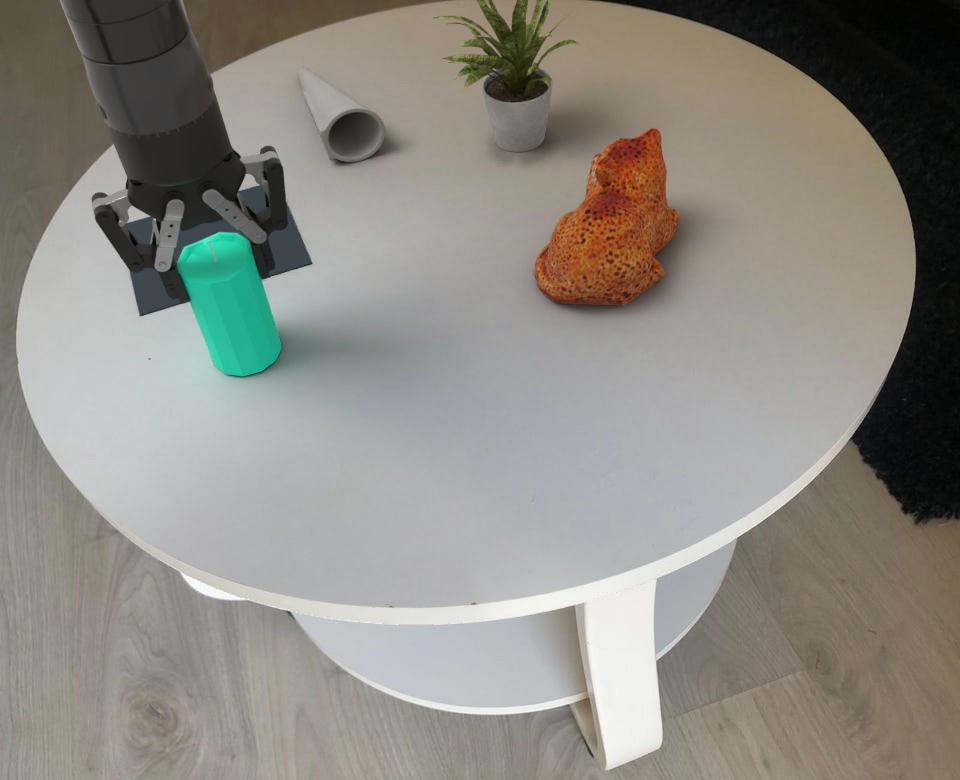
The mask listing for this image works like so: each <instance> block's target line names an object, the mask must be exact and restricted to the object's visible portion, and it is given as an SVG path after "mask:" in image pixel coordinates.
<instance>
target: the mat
mask: <svg viewBox="0 0 960 780" xmlns="http://www.w3.org/2000/svg"><path fill="white" fill-rule="evenodd" d="M238 193H239V194H240V195H241V196H242V198H243V199H244V201H245V202H246V203H247V204H248V205H249V206H250V207H251V208H252V209H253V210H254V211H255V212H256V213H258V212H260V211H261V210H263V209H264V208H265V199H264V189H263V185H259V184H258V185H256V186H251V187H248V188H245V189H241V190H239V191H238ZM286 206H287V218H288V225H287V227H286V228H285V229H284V230H280V231H278V230H275V231H273V232H272V233H271V234H270V235H269V237H268V241H269V245H270V248H271V251H272V255H273V258H274V261H275V268H274V270H271V271H268V272H269V275H270V277H272V276H276V275H279V274H283V273H286V272H289V271H292V270H296V269H299V268H303V267H305V266H308V265H311V264H313V263H312V260H311V258H310V255H309V253H308V251H307V248H306V246H305V244H304V241H303V238H302V237H301V234H300V232H299V228H298V227H297V225H296V222H295V220H294V217H293V215H292V213H291V210H290V208H289V206H288V203H287V202H286ZM222 218H223V217H222ZM126 224H127V226H128V227H129V229H130V230H131V232H132V233H133V235H134V236H135V238H136V239H137V241H138V242H139V244H150V242H151V236H152V230H153V217H151V216H147V217H144V218H140V219H137V220H133V221H130V222H129V221H128V222H127V223H126ZM218 232H228V233H238V234H240V235H241V236H243V237H244V238H245V239H247V240H248V237H247V236H246V235H245V234H244V233H243V232H242V231H241V230H237V229H236V228H234V227H233V226H232V225H231V224H230V223H229V222H228V221H227V220H226V219H225V218H223V220H220V221H217V222H213V223H202V224H199V225H198V226H196V227H194V228H192V229H189V230H185V231H181V229H179V235H178V240H177V246H176V248H174V252H173V255H174V258H175V260H176V263H177V261H178V259H179V257H180V255H181V253H182V251H183V248H184V247H186V246H188V245H191V244H193V243H195V242H198V241H200V240H203V239H205V238H207V237H209V236H212V235H214V234H216V233H218ZM248 241H249V240H248ZM128 270H129V269H128ZM129 274H130V280H131V284H132V288H133V292H134V297H135V301H136V305H137V310H138V315H139V317H141V316H144V315H148V314H151V313H154V312H157V311H161V310H164V309H167V308H171V307H174V306H177V305H180V304H181V303H180V300H179V298H178V299H174V300H172V299H171V298H170V297H169V296H168V294H167V292H166V290H165V287H164V285H163V282H162V280H161V278H160V275H159V273H158V272H157V271H156V270H155V269H152V268H144V269H143V270H142V271H141V272H137V273H135V272H131V271H130V270H129ZM181 305H182V304H181Z"/></svg>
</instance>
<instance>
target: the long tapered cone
mask: <svg viewBox="0 0 960 780" xmlns="http://www.w3.org/2000/svg"><path fill="white" fill-rule="evenodd" d="M295 72H296V73H295V74H296V78H297V80H298V82H299V84H300V87H301V90H302V93H303V96H304V100H305V103H306V104H307V107H308V109H309V112H310V114H311V116H312V119H313V122H314V124H315V126H316V129H317V131H318V134H319V137H320V139H321V142H322V144H323V146H324V148H325V151H326V154H327V156H328V158H329V160H330V161H333V160H338V161H341V162H344V163H345V162H346V163H356V162H361V161H364V160H366V159H368V158H370V157H372V156H373V155H374V154H375V153H377V151H378V150H379V149H380V148H381V146H382V145H383V143H384V140H385V136H386V126H385V123H384V121H383V119H382V118H381V117H380V115H378V113H376V112H375V111H374V110H372V109H370V108H369V107H367V106H366V105H364V104H363V103H361V102H359V101H358V100H356V99H355V98H354V97H352V96H350V95H349V94H347V93H346V92H344V91H343V90H341V89H340V88H338V86H335V85H334V84H332V83H331V82H329V81H328V80H327V79H325V78H323V77H322V76H321V75H319V74H318V73H316V72H315V71H313V70H311V69H309V68H308V67H306V66H304V65H300V66H298V67H297V68H296V71H295Z"/></svg>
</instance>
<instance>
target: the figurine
mask: <svg viewBox="0 0 960 780" xmlns="http://www.w3.org/2000/svg"><path fill="white" fill-rule="evenodd" d="M667 175H668V170H667V166H666V161H665V159H664V155H663V148H662V135H661V131H660V130H659V129H658V128H654V127H651V128H649V129H646V130H645V131H643V132H642V133H640V134H638V135H637V136H636V137H633V138H631V137H630V138H629V137H620V138H618V139H617V140H615V141H613V142H611V143H609V144H607V145H606V146H605V147H604V148H603V150H602V152H601V153H597V154H595V155H594V156H593V158H592V160H591V162H590V169H589V173H588V176H587V177H586V178H587V179H586V187H585V196H584V200H583V201H582V202H581V203H580V204H579V205H578V206H577V208H576V209H574V210H572V211H569V212H566V213H565V214H564V215H562V216H561V217H560V218H559V219H558V220H557V222H556V225H555V226H554V229H553V231H552V233H551V235H550V239H549V242H548V243H547V244H546V245H545V246H544V247H543V248H542V249H541V251H540V252H539V254H538V255H537V256H536V258H535V260H534V261H535V262H534V270H533V274H534V275H533V276H534V279H535V282H536V285H537V288H538V290H539V291H540V292H541V293H542V294H543V295H544V296H546V297H547V298H548V299H550V300H551V301H553V302H557V303H560V304H564V305H589V306H590V305H591V306H592V305H594V306H595V305H596V306H597V305H599V306H600V305H603V306H605V305H606V306H623V307H624V306H625V305H627V304H628V303H630V302H632V301H633V300H635V299H636V298H637V297H639V296H640V295H641V294H642V293H644V292H646V291H647V290H649V289H650V288H652V287H653V286H655V285H656V283H658V281H659V280H660V279H661V278H662V277H663V276H664V275H665V274H666V273H665V270H664V268H663V266H662V265H661V263H660V262H659V260H658V259H657V258H655V256H656V255H657V254H658V253H659V252H660V251H661V250H662V249H664V248H665V247H666V246H667V244H669V242H670V241H671V240H672V239H673V238H674V236H675V232H676V229H677V225H678V223H679V221H680V218H681V214H680V213H679V212H678V211H677V210H676V209H674V208H671V207H670V206H669V204H668V200H667Z"/></svg>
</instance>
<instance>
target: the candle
mask: <svg viewBox="0 0 960 780" xmlns="http://www.w3.org/2000/svg"><path fill="white" fill-rule="evenodd" d="M177 268H178V273H179V275H180V278H181V280H182V283H183V285H184V288H185V290H186V293H187V295H188V298H189V300H190V302H189V305H190V307H191V310H192V312H193V314H194V317H195V320H196V323H197V325H198V328H199V330H200V333H201V335H202V338H203V340H204V343H205V345H206V349H207V350H208V352H209V353H208V354H209V355H210V358H211V360H212V363H213V366H214V367H216V368H217V369H218V370H219V371H221V372H222V373H223V374H225V375H229V376H237V377H246V376H250V375H253V374H257V373H260V372H263V371H264V370H265V369H267V368H268V367H269V366H271V365H272V364H274V363H275V362H276V361H277V359H278V357H279V355H280V352H281V351H282V349H283V346H282V341H281V338H280V334H279V331H278V327H277V324H276V321H275V318H274V315H273V311H272V309H271V304H270V302H269V299H268V296H267V293H266V290H265V286H264V283H263V280H262V279H261V276H260V273H259V270H258V267H257V264H256V261H255V258H254V255H253V251H252V248H251V245H250V242H249V241H248V240H247V239H245V238H244V237H243V236H241V235H240V234H238V233H228V232H218V233H216V234H214V235H212V236H209V237H207V238H205V239H203V240H200V241H198V242H195V243H193V244H191V245H188V246H186V247H184V248H183V251H182V253H181V255H180V257H179V259H178V261H177Z"/></svg>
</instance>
